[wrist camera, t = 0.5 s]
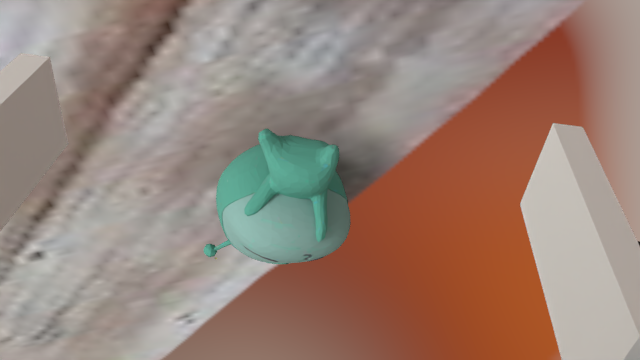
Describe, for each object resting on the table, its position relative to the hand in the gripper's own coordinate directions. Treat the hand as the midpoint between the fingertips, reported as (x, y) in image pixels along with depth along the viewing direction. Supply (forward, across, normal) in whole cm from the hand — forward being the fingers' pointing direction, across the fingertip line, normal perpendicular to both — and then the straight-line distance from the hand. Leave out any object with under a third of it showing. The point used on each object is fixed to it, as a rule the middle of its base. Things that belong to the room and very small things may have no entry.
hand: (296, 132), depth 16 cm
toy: (+17, -1, -11) cm, 21 cm away
